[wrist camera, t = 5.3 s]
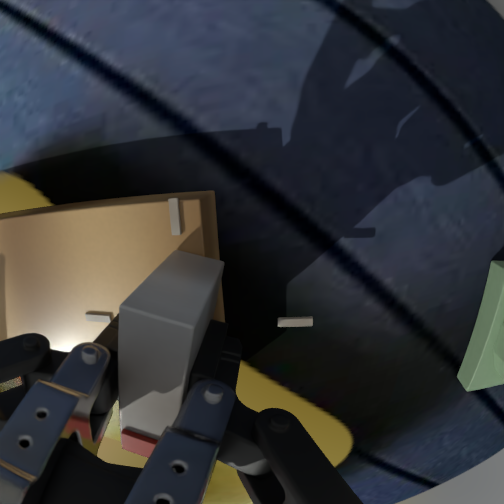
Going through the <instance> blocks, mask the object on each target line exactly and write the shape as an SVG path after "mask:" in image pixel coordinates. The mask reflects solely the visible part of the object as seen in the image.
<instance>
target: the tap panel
mask: <svg viewBox="0 0 504 504" xmlns="http://www.w3.org/2000/svg"><path fill="white" fill-rule="evenodd" d="M174 250H180V251H184V252H188V253H191V254H195V255H199V256H203V257H207V258H211V259H216V260H220V258H219V245H218V232H217V218H216V203H215V192H214V191H197V192H182V193H169V194H156V195H144V196H134V197H123V198H113V199H104V200H95V201H86V202H78V203H70V204H62V205H55V206H47V207H40V208H33V209H27V210H21V211H14V212H8V213H2V214H0V341H2V340H5V339H9V338H12V337H15V336H19V335H22V334H26V333H38V334H41V335H43V336H45V337H46V338H47V339H48V340H49V342H50V348H51V349H53V350H59V351H65V352H70V351H71V350H72V349H73V347H75V346H76V345H78V344H80V343H84V342H93V341H94V340H95V339H96V338H97V337H98V336H99V334H100V333H101V332H102V331H103V330H104V329H105V328H106V327H107V326H108V324H109V323H110V322H111V321H113V319H114V318H115V317H116V316H117V314H118V313H119V306H120V304H121V303H122V302H123V301H124V300H125V299H126V298H127V297H128V296H129V295H130V294H131V293H132V292H133V291H134V290H135V289H136V288H137V287H138V286H139V285H140V284H141V283H142V282H143V281H144V280H145V279H146V278H147V277H148V276H149V275H150V274H151V273H152V272H153V271H154V270H155V269H156V268H157V267H158V266H159V265H160V264H161V263H162V262H163V261H164V260H165V259H166V258H167V257H168V256H169V255H170V254H171V253H172V252H173V251H174ZM213 320H217V321H221V322H225V315H224V304H223V293H222V282H221V283H220V287H219V292H218V297H217V302H216V306H215V311H214V316H213ZM296 326H313V317H283V318H278V327H296Z"/></svg>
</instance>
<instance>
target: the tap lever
mask: <svg viewBox="0 0 504 504" xmlns="http://www.w3.org/2000/svg"><path fill="white" fill-rule="evenodd" d="M223 269H224V262H223V261H220V260H216V259H211V258H207V257H203V256H199V255H195V254H191V253H188V252H184V251H180V250H174V251H173V252H172V253H171V254H170V255H169V256H168V257H167V258H166V259H165V260H164V261H163V262H162V263H161V264H160V265H159V266H158V267H157V268H156V269H155V270H154V271H153V272H152V273H151V274H150V275H149V276H148V277H147V278H146V279H145V280H144V281H143V282H142V283H141V284H140V285H139V286H138V287H137V288H136V289H135V290H134V291H133V292H132V293H131V294H130V295H129V296H128V297H127V298H126V299H125V300H124V301H123V302H122V303H121V304H120V306H119V330H118V392H119V416H120V432H121V444H122V449H125V450H127V451H130V452H133V453H136V454H139V455H141V456H145V457H147V458H149V457H150V455H151V453H152V451H153V449H154V447H155V445H156V444H157V442H158V440H159V438H160V436H161V434H162V432H163V431H164V429H165V428H166V426H168V425H169V426H172V424H173V422H174V420H175V418H176V417H177V415H178V413H179V411H180V409H181V407H182V405H183V403H184V401H185V399H186V396H187V390H188V384H189V378H190V373H191V370H192V367H193V365H194V362H195V359H196V357H197V354H198V351H199V349H200V346H201V343H202V341H203V338H204V336H205V333H206V330H207V328H208V325H209V323H210V320H211V319H213V316H214V311H215V306H216V302H217V297H218V292H219V287H220V283H221V278H222V273H223Z"/></svg>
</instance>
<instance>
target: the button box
mask: <svg viewBox="0 0 504 504" xmlns="http://www.w3.org/2000/svg"><path fill="white" fill-rule="evenodd" d="M457 378H458V379H459V381H460V382H461V384H462V385H463V387H464V388H465V390H466V391H473V390H478V389H482V388H487V387H492V386H496V385H500V384H504V261H491V264H490V269H489V274H488V278H487V283H486V287H485V291H484V295H483V299H482V302H481V306H480V310H479V313H478V317H477V320H476V323H475V327H474V330H473V333H472V336H471V339H470V342H469V345H468V348H467V351H466V354H465V356H464V359H463V362H462V365H461V367H460V370H459V372H458V375H457Z"/></svg>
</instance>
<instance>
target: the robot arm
mask: <svg viewBox="0 0 504 504" xmlns="http://www.w3.org/2000/svg"><path fill="white" fill-rule="evenodd" d="M228 324H229V323H225V322H221V321H217V320H213V319H211V320H210V323H209V325H208V328H207V330H206V333H205V336H204V338H203V341H202V343H201V346H200V349H199V351H198V354H197V357H196V359H195V362H194V365H193V367H192V370H191V373H190V378H189V384H188V390H187V396H186V399H185V401H184V403H183V405H182V407H181V409H180V411H179V413H178V415H177V417H176V418H175V420H174V422H173V424H172V426H169V425H168V426H166V428H165V429H164V431H163V432H162V434H161V436H160V438H159V440H158V442H157V444H156V445H155V447H154V449H153V451H152V453H151V455H150V457H149V459H148V460H147V462H146V464H145V466H144V468H137V467H130V466H123V465H116V464H110V463H107V462H104V461H102V460H101V459H100V458H98V457H97V452H98V448H99V446H100V443H101V441H102V438H103V436H104V433H105V431H106V428H107V426H108V424H109V421H110V419H111V416H112V413H113V405H114V403H115V402H116V400H118V401H119V392H118V330H119V313H118V314H117V316H116V317H115V318H114V319H113V321H111V322H110V323H109V324H108V326H107V327H106V328H105V329H104V330H103V331H102V332H101V333H100V334H99V336H98V337H97V338H96V339H95V340H94V341H93V342H84V343H80V344H78V345H76V346H75V347H73V349H72V350H71V351H70V352H65V351H59V350H53V349H51V348H50V342H49V340H48V339H47V338H46V337H45V336H43V335H41V334H38V333H26V334H22V335H19V336H15V337H12V338H9V339H5V340H2V341H0V383H3V382H5V381H8V380H11V379H14V378H17V377H19V376H20V377H21V381H22V385H20V386H17V387H15V388H12V389H9V390H6V391H4V392H1V393H0V504H202V503H203V500H204V497H205V494H206V491H207V488H208V485H209V482H210V479H211V476H212V473H213V470H214V467H215V464H216V461H217V460H219V461H221V462H223V463H225V464H227V465H229V466H231V467H233V468H235V469H237V473H238V476H239V478H240V479H241V481H242V483H243V485H244V487H245V489H246V491H247V493H248V494H249V496H250V498H251V500H252V502H253V503H254V504H363V503H362V501H361V500H360V499H359V498H358V497H357V495H356V494H355V493H354V492H353V490H352V489H351V488H350V487H349V485H348V484H347V483H346V482H345V480H344V479H343V478H342V477H341V475H340V474H339V473H338V472H337V470H336V469H335V468H334V466H333V465H332V464H331V463H330V461H329V460H328V459H327V457H326V456H325V455H324V453H323V452H322V451H321V450H320V448H319V447H318V446H317V444H316V443H315V442H314V440H313V439H312V438H311V436H310V435H309V434H308V432H307V431H306V430H305V428H304V427H303V426H302V424H301V423H300V421H299V420H298V419H297V418H296V417H295V416H294V415H293V414H292V413H290V412H288V411H286V410H283V409H279V408H268V409H265V410H262V411H261V412H259V413H258V412H256V411H254V410H252V409H250V408H248V407H246V406H245V405H244V404H243V403H241V401H239V399H238V397H237V395H236V384H237V378H238V372H239V366H240V361H241V355H242V349H243V346H242V344H241V342H240V340H239V338H234V337H230V336H226V333H227V329H228Z"/></svg>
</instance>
